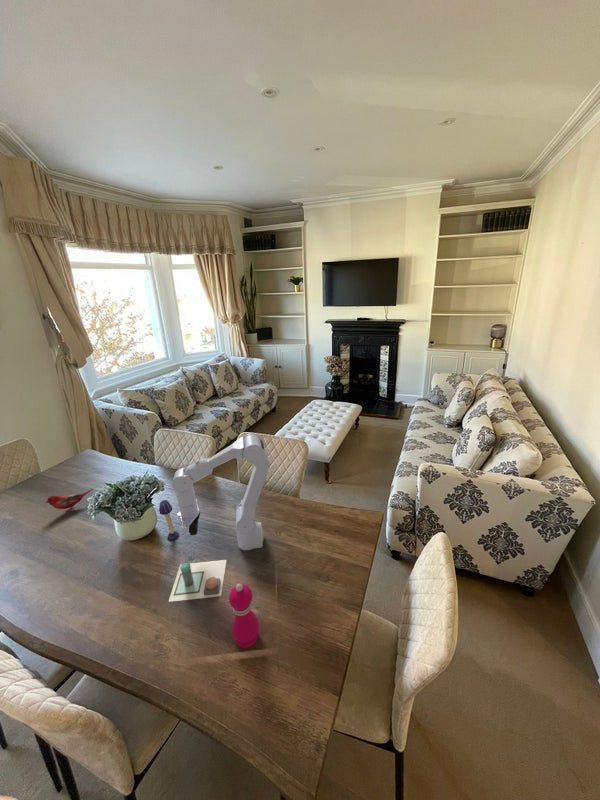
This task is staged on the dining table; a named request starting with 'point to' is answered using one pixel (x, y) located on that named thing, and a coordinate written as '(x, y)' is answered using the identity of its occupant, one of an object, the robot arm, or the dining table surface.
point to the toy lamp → (168, 519)
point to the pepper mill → (243, 616)
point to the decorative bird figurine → (65, 501)
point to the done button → (211, 583)
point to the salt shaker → (187, 574)
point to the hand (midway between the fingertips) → (194, 533)
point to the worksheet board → (199, 581)
